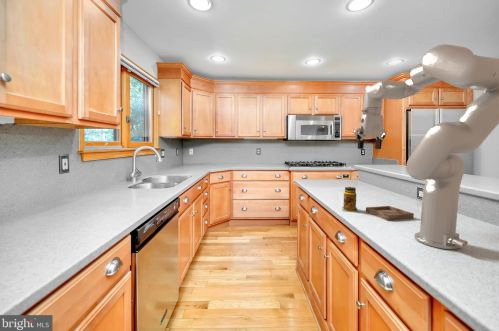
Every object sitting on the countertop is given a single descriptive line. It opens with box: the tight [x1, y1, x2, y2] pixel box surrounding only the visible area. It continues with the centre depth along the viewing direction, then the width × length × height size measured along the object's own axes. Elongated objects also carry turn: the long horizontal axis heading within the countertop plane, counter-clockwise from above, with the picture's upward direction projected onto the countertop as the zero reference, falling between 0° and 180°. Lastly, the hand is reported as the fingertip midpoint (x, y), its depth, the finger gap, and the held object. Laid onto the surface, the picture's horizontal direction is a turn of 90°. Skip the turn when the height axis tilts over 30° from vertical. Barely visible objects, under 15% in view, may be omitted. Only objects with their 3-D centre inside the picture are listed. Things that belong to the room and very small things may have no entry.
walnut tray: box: [365, 205, 415, 221], centre depth 111 cm, size 14×14×2 cm
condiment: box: [341, 186, 359, 213], centre depth 120 cm, size 7×8×12 cm
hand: (369, 148), depth 109 cm, fingers open, 9 cm apart
